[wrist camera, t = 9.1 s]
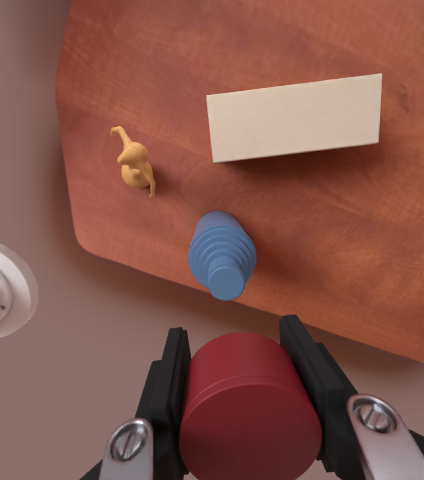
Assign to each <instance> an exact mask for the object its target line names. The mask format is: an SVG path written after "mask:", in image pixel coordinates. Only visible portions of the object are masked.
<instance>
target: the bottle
mask: <svg viewBox="0 0 424 480" xmlns="http://www.w3.org/2000/svg"><path fill="white" fill-rule="evenodd" d="M188 264H189V268H190V271H191V273H192V275H193V276H194V278H195V279H196V280H197V281H198V282H199V283H200V284H201V285H203V286H204V287H206V288H208V289H209V292H210V293H211V294H212V295H213V296H214V297H216V298H217V299H220V300H225V301H226V300H232V299H235V298H237V297H238V296H239V295H240V294H241V293H242V292H243V290H244V288H245V282H246V281H247V280H248V279H249V278H250V276H251V274H252V272H253V270H254V268H255V265H256V250H255V247H254V244H253V242H252V241H251V239H250V238H249V236H248V235H247V234H246V232H245V231H244V229H243V228H242V227H241V225H240V224H239V222H238V221H237V220H236V218H235V217H234V216H232V215H231V214H229V213H227V212H224V211H212V212H209V213H207V214H205V215H204V216H203V217H202V218H201V219H200V220H199V221H198V223H197V225H196V228H195V232H194V235H193V238H192V241H191V245H190V248H189V252H188Z"/></svg>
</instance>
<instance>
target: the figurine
mask: <svg viewBox="0 0 424 480" xmlns="http://www.w3.org/2000/svg"><path fill="white" fill-rule="evenodd" d="M113 132H119V134H120V136H121V138H122V139H123V142H124V149H123V153H122V154H121V155H120V156H119V157H118V162H119V164H121V165H123V167H122V177H123V179H124V181H125V182H126V183H127V184H128V185H129V186H131V187H133V188H144V187H146V186H147V185H149V183H150V185H151V195H148V196H150V197H152V198H153V197H154V198H155V185H156V184H155V181H154V179H153V171H152V168H151V166H150V164H149V163H148V162H147V159H148V152H147V149H146V148H145V147H144V146H143V145H142V144H140V143H136V142H133V141H132V140H131V139H129V137H128V135H127V134H126V132H125V131H124V129H123V128H122V127H120V126H119V127H114V128H112V129H111V132H110V135H112V133H113Z"/></svg>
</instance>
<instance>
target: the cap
mask: <svg viewBox="0 0 424 480" xmlns="http://www.w3.org/2000/svg"><path fill="white" fill-rule="evenodd" d="M178 442H179V451H180V455H181V458H182V460H183V462H184V464H185V466H186V467H187V469H188V470H189V471H190V472H191V473H192V474H193V475H194V476H195V477H196V478H197V479H198V480H295V479H297V478H298V477H300V476H301V475H302V474H303V473H304V472H305V471H306V470H307V469H308V468H309V467H310V466H311V465H312V463H313V462H314V460H315V459H316V457H317V455H318V453H319V451H320V447H321V444H322V427H321V423H320V420H319V417H318V415H317V413H316V411H315V409H314V407H313V404H312V402H311V400H310V398H309V396H308V394H307V392H306V390H305V388H304V386H303V383H302V381H301V379H300V377H299V375H298V373H297V371H296V369H295V367H294V364H293V362H292V360H291V358H290V357H289V355H288V353H287V352H286V351H285V350H284V349H283V348H282V347H281V346H280V345H279V344H278V343H276V342H275V341H273V340H271V339H269V338H267V337H265V336H262V335H259V334H254V333H246V332H242V333H241V332H240V333H230V334H226V335H223V336H220V337H218V338H215V339H213V340H211V341H210V342H208V343H207V344H205V345H204V346H202V347H201V348H200V349H199V350H198V351H197V352H196V354H195V355H194V356H193V358H192V359H191V361H190V363H189V365H188V367H187V371H186V377H185V386H184V395H183V404H182V413H181V422H180V431H179V441H178Z"/></svg>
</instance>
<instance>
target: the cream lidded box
mask: <svg viewBox="0 0 424 480" xmlns="http://www.w3.org/2000/svg"><path fill="white" fill-rule="evenodd" d="M381 87H382V74H374V75H366V76H358V77H350V78H342V79H335V80H327V81H319V82H311V83H303V84H295V85H287V86H279V87H271V88H263V89H255V90H247V91H239V92H231V93H223V94H215V95H208V96H206V99H207V109H208V118H209V127H210V136H211V145H212V155H213V163H222V162H230V161H238V160H247V159H255V158H263V157H272V156H280V155H288V154H296V153H305V152H313V151H321V150H330V149H338V148H346V147H354V146H363V145H371V144H376V143H378V141H379V123H380V105H381Z"/></svg>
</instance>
